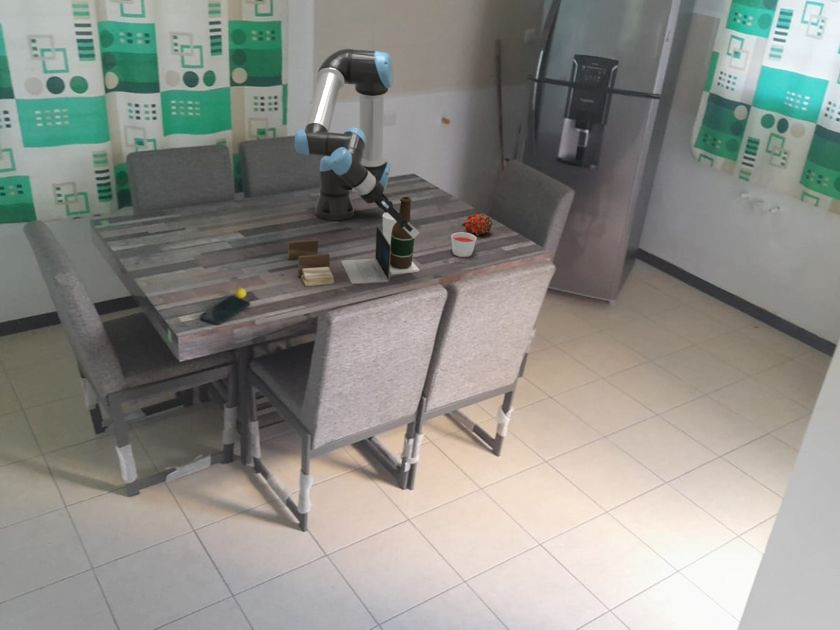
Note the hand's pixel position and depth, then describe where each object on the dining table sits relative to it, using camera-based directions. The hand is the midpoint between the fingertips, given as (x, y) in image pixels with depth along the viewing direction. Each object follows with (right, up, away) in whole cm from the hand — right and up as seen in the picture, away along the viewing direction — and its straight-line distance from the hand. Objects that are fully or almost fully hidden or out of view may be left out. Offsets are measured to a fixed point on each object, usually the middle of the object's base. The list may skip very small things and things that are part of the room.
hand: (409, 227), depth 263 cm
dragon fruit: (+25, +2, +38) cm, 45 cm away
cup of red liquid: (+19, -7, +20) cm, 28 cm away
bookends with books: (-33, -14, -1) cm, 36 cm away
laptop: (-15, -15, +1) cm, 21 cm away
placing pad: (-3, -13, +6) cm, 14 cm away
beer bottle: (-3, -12, +5) cm, 14 cm away
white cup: (-7, -2, +25) cm, 26 cm away
